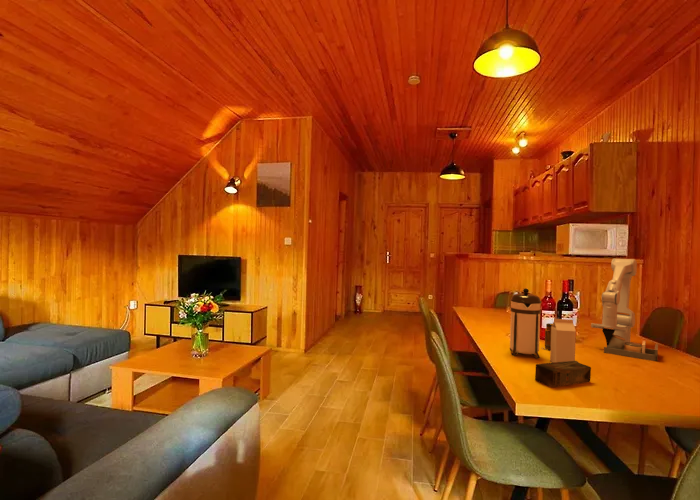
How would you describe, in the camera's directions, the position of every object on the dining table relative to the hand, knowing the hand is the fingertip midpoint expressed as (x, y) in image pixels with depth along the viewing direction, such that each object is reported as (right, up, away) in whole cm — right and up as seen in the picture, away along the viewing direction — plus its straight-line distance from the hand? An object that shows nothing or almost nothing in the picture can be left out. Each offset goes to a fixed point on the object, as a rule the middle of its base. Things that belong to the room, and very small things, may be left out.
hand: (608, 344), depth 180 cm
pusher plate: (+11, -3, -8) cm, 14 cm away
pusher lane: (+7, -3, -5) cm, 9 cm away
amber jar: (+8, -3, -5) cm, 10 cm away
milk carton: (-36, -2, -24) cm, 43 cm away
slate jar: (+2, -2, -1) cm, 3 cm away
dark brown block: (-47, -3, -43) cm, 64 cm away
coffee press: (-45, -2, -8) cm, 46 cm away
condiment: (-26, -2, 0) cm, 26 cm away
